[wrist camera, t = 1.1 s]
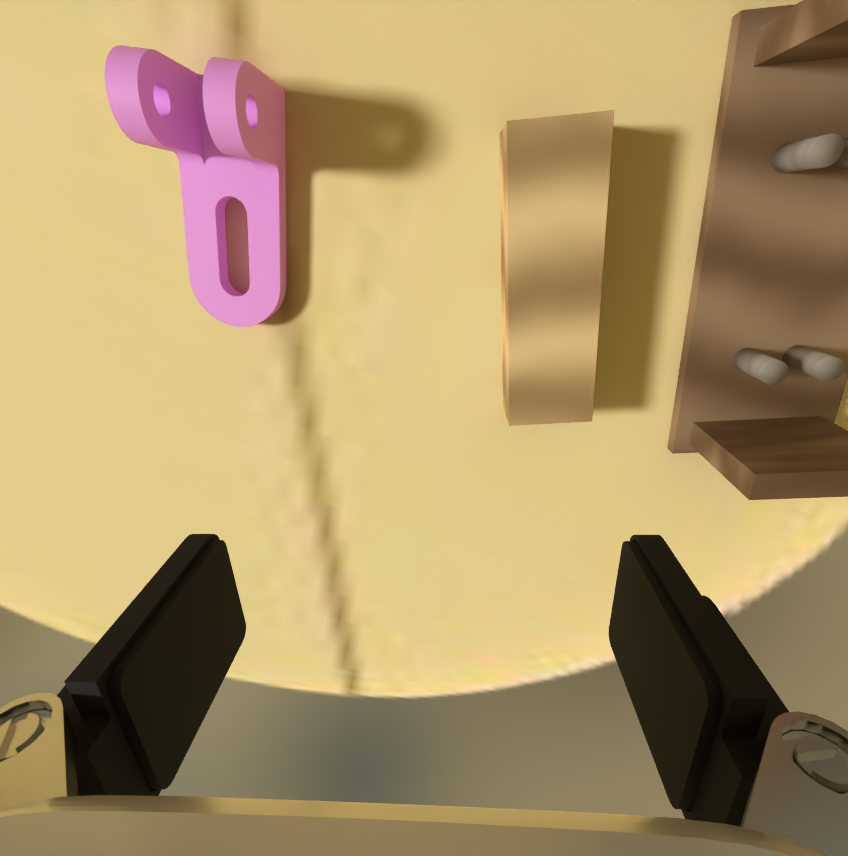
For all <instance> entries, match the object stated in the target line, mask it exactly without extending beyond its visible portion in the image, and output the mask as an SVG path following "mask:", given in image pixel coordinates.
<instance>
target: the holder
mask: <svg viewBox="0 0 848 856" xmlns="http://www.w3.org/2000/svg"><path fill="white" fill-rule="evenodd" d="M847 378H848V0H803V1H801V2H799V3H798V4H796V5H787V6H778V7H768V8H759V9H750V10H742V11H740V12H739V13H737V14H736V15H735V16H733V18H732V25H731V31H730V38H729V45H728V51H727V58H726V64H725V71H724V78H723V84H722V91H721V98H720V104H719V111H718V117H717V124H716V131H715V137H714V144H713V151H712V157H711V164H710V171H709V177H708V184H707V190H706V197H705V204H704V210H703V217H702V224H701V230H700V237H699V244H698V250H697V257H696V263H695V270H694V277H693V283H692V290H691V297H690V303H689V310H688V317H687V323H686V330H685V336H684V343H683V350H682V356H681V363H680V370H679V376H678V383H677V390H676V396H675V403H674V409H673V416H672V423H671V429H670V436H669V443H668V449H669V450H670V451H671V452H672V453H695V452H699V453H700V454H701V455H702V456H703V457H704V458H705V459H706V460H707V461H708V462H709V463H710V464H711V465H712V466H714V467H715V468H716V469H717V470H718V471H719V472H720V473H721V474H722V475H723V476H724V477H725V478H726V479H727V480H728V481H730V482H731V483H732V484H733V485H734V486H735V487H736V488H737V489H738V490H739V491H740V492H741V493H742V494H743V495H744V496H745V497H747V498H748V499H749V500H761V499H790V498H818V497H846V496H848V431H847V430H845V429H843V428H841V427H839V426H838V425H836V424H834V420H835V417H836V414H837V411H838V407H839V404H840V401H841V397H842V394H843V391H844V387H845V384H846V381H847Z"/></svg>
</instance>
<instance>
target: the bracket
mask: <svg viewBox="0 0 848 856" xmlns="http://www.w3.org/2000/svg"><path fill="white" fill-rule="evenodd" d="M105 85H106V91H107V96H108V100H109V104H110V107H111V110H112V112H113V115H114V117H115V119H116V121H117V123H118V125H119V126H120V128H121V129H122V131H123V132H124V133H125V135H126V136H127V137H128V138H130V139H131V140H132V141H134V142H136V143H140V144H144V145H148V146H152V147H156V148H160V149H165V150H169V151H173V152H175V153H176V155H177V157H178V160H179V166H180V177H181V188H182V200H183V211H184V222H185V234H186V245H187V256H188V267H189V277H190V283H191V286H192V289H193V292H194V294H195V296H196V298H197V300H198V301H199V303H200V304H201V305H202V307H203V308H204V309H205V310H206V311H207V312H208V313H209V314H211V315H212V316H213V317H215V318H216V319H218V320H219V321H221V322H224V323H226V324H229V325H233V326H239V327H245V326H252V325H255V324H258V323H260V322H262V321H264V320H265V319H267V318H269V317H270V316H272V315H273V314H274V313H275V312H276V311H277V310H278V309H279V308H280V306H281V305H282V303H283V300H284V298H285V294H286V288H287V260H286V120H285V90H284V89H283V88H282V87H281V86H279V85H278V84H277V83H275V82H274V81H273V80H272V79H270V78H269V77H268V76H266V75H265V74H264V73H263V72H261V71H260V70H259V69H258V68H256V67H255V66H254V65H252V64H251V63H250V62H248V61H241V60H233V59H225V58H217V57H213V58H211V59H210V60H209V61H208V63H207V65H206V68H205V71H204V75H200V74H196V73H195V72H193V71H191V70H189V69H188V68H186V67H184V66H182V65H181V64H179V63H177V62H175V61H174V60H172V59H170V58H168V57H167V56H165V55H163V54H162V53H160V52H158V51H156V50H153V49H145V48H137V47H129V46H121V45H120V46H115V47H114V48H112V49H111V51H110V52H109V54H108V57H107V60H106V65H105ZM232 198H237V199H238V200H240V201H241V202H242V203H243V205H244V206H245V208H246V211H247V220H248V246H249V273H250V287H249V290H248V291H247V293H240V292H238V291H236V290H235V289H234V288H233V287H232V286H231V284H230V282H229V278H228V261H227V243H226V226H225V206H226V204H227V202H228V201H229V200H230V199H232Z"/></svg>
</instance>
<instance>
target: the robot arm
mask: <svg viewBox="0 0 848 856" xmlns="http://www.w3.org/2000/svg"><path fill="white" fill-rule="evenodd" d="M245 632H246V623H245V619H244V615H243V611H242V607H241V603H240V599H239V595H238V591H237V586H236V582H235V578H234V574H233V570H232V566H231V562H230V558H229V554H228V550H227V546H226V543H225V542H224V541H223V540H219V537H218V536H217V535H215V534H191V535H189V536H188V537H187V538H186V539H185V540H184V541H183V542H182V543H181V545H180V546H179V547H178V548H177V549H176V551H175V552H174V553H173V554H172V555H171V556H170V558H169V559H168V560H167V561H166V562H165V563H164V565H163V566H162V567H161V568H160V569H159V571H158V572H157V573H156V574H155V575H154V576H153V578H152V579H151V580H150V581H149V582H148V584H147V585H146V586H145V587H144V588H143V589H142V591H141V592H140V593H139V594H138V595H137V597H136V598H135V599H134V600H133V601H132V602H131V604H130V605H129V606H128V607H127V608H126V610H125V611H124V612H123V613H122V614H121V615H120V617H119V618H118V619H117V620H116V621H115V623H114V624H113V625H112V626H111V627H110V628H109V630H108V631H107V632H106V633H105V634H104V635H103V637H102V638H101V639H100V640H99V641H98V643H97V644H96V645H95V646H94V647H93V648H92V650H91V651H90V652H89V653H88V654H87V656H86V657H85V658H84V659H83V660H82V661H81V663H80V664H79V665H78V666H77V667H76V669H75V670H74V671H73V672H72V673H71V674H70V676H69V677H68V678H67V679H66V680H65V684H66V685H65V687H64V688H63V689H62V690H61V692H60V693H59V694H58V695H57V696H56V695H54V694H51V693H37V694H31V695H27V696H25V697H22V698H19V699H17V700H14V701H12V702H10V703H8V704H6V705H5V706H3V707H1V708H0V856H848V731H847V730H845V729H843V728H842V727H840V726H838V725H837V724H835V723H833V722H831V721H829V720H826V719H824V718H821V717H819V716H816V715H813V714H808V713H803V712H789V711H788V709H787V708H786V707H785V705H784V704H783V702H782V701H781V699H780V698H779V697H778V695H777V694H776V692H775V691H774V689H773V688H772V686H771V685H770V683H769V682H768V681H767V679H766V678H765V676H764V675H763V673H762V672H761V670H760V669H759V668H758V666H757V665H756V663H755V662H754V660H753V659H752V657H751V656H750V654H749V653H748V652H747V650H746V649H745V647H744V646H743V645H742V643H741V642H740V640H739V639H738V637H737V636H736V634H735V633H734V632H733V630H732V628H731V627H730V626H729V624H728V623H727V621H726V620H725V618H724V617H723V615H722V614H721V613H720V611H719V610H718V608H717V607H716V605H715V604H714V603H713V602H712V601H711V599H710V598H708V597H706V596H701V594H700V593H699V591H698V590H697V588H696V587H695V585H694V584H693V582H692V581H691V579H690V578H689V576H688V575H687V573H686V572H685V570H684V569H683V567H682V566H681V564H680V563H679V561H678V560H677V558H676V557H675V555H674V554H673V552H672V551H671V549H670V548H669V547H668V545H667V544H666V542H665V541H664V539H663V538H662V537H661V536H660V535H633V536H632V537H631V539H630V541H625V542H623V544H622V549H621V556H620V562H619V568H618V575H617V581H616V587H615V594H614V600H613V606H612V613H611V619H610V625H609V639H610V644H611V647H612V650H613V653H614V655H615V658H616V661H617V663H618V666H619V669H620V671H621V674H622V676H623V679H624V682H625V685H626V687H627V690H628V692H629V695H630V698H631V700H632V703H633V706H634V708H635V711H636V714H637V716H638V719H639V721H640V724H641V727H642V730H643V732H644V735H645V737H646V740H647V743H648V745H649V748H650V751H651V754H652V756H653V759H654V761H655V764H656V767H657V769H658V772H659V775H660V777H661V780H662V783H663V785H664V788H665V791H666V793H667V796H668V798H669V801H670V803H671V805H672V806H673V807H674V808H675V809H682V812H683V814H684V817H685V819H679V818H665V817H649V816H634V815H619V814H602V813H588V812H566V811H565V812H564V811H543V810H521V809H499V808H477V807H476V808H475V807H456V806H454V807H453V806H430V805H406V804H382V803H381V804H380V803H354V802H330V801H329V802H328V801H303V800H275V799H244V798H215V797H214V798H212V797H185V796H183V797H181V796H158V795H159V793H160V791H161V790H162V789H166V788H167V787H168V786H169V785H170V784H171V782H172V781H173V779H174V777H175V775H176V773H177V771H178V769H179V767H180V765H181V763H182V761H183V759H184V757H185V755H186V753H187V751H188V749H189V747H190V745H191V743H192V741H193V739H194V737H195V735H196V733H197V731H198V729H199V727H200V725H201V723H202V721H203V719H204V717H205V715H206V713H207V711H208V710H209V708H210V705H211V703H212V702H213V700H214V698H215V695H216V694H217V692H218V690H219V687H220V685H221V684H222V682H223V680H224V678H225V676H226V674H227V672H228V670H229V668H230V666H231V664H232V662H233V660H234V658H235V656H236V654H237V652H238V650H239V648H240V646H241V644H242V642H243V639H244V637H245Z"/></svg>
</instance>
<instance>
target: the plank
mask: <svg viewBox="0 0 848 856" xmlns="http://www.w3.org/2000/svg"><path fill="white" fill-rule="evenodd" d="M613 121H614V110H612V111H602V112H592V113H582V114H572V115H562V116H552V117H543V118H533V119H523V120H513V121H507V122H506V124H505V126H504V127H503V129H502V131H501V132H500V189H501V274H502V358H503V406H504V409H505V413H506V416H507V420H508V423H509V426H511V425H530V424H550V423H569V422H589V421H592V415H593V401H594V387H595V373H596V359H597V345H598V331H599V317H600V303H601V289H602V275H603V261H604V247H605V233H606V219H607V205H608V191H609V177H610V163H611V149H612V135H613Z"/></svg>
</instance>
